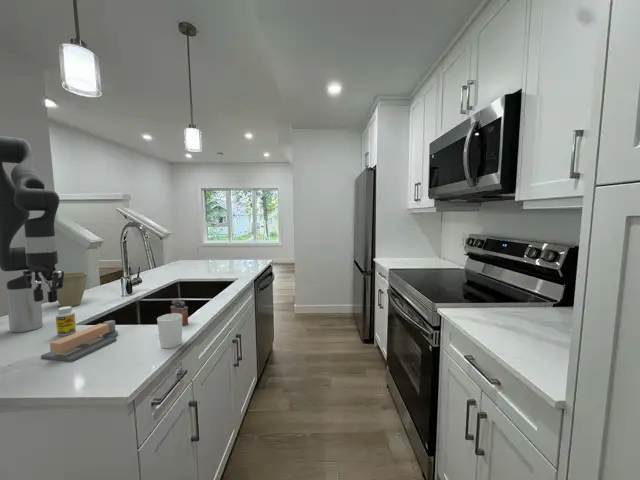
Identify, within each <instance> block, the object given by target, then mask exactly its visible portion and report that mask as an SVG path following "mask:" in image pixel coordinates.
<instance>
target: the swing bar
mask: <svg viewBox="0 0 640 480" xmlns="http://www.w3.org/2000/svg"><path fill="white" fill-rule="evenodd" d="M115 330H116V320H113V319H112V320H106V321H103V322H102V323H98V324H95V325H93V326H92V325H91V326H89V327H87V328H85V329H83V330H80V331H77V332H74V333H72V334H69V335H65V336H64V337H61V338H58V339H56V340H54V341H51V342H49V348H50V351H51V352H55V353H62V352H65V351H67V350H69V349H71V348H74V347H76V346H78V345H81V344H83V343H85V342H88V341H90V340H92V339H95V338H97V337H99V336H100V337H102V335H104V334H111V333H114V332H115Z"/></svg>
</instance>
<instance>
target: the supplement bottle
mask: <svg viewBox="0 0 640 480" xmlns="http://www.w3.org/2000/svg"><path fill="white" fill-rule="evenodd" d="M72 307H73V306H72ZM72 307H71V306H67V307H61V306H60V307H59V308H58V309H57V313H56V314H55V324H56V325H55V326H56V335H57V336H59V337H60V336H61V337H62V336H64V337H65V336H69V335H71V334H74V333H76V330H77V329H76V326H77V325H76V315H75V311H74V310H72Z"/></svg>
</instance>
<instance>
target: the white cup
mask: <svg viewBox="0 0 640 480" xmlns="http://www.w3.org/2000/svg"><path fill="white" fill-rule="evenodd" d="M156 321H157V330H158V337H159V338H158V339H159V343H160V344H159V345H160V348H161V349H173V348H176V347H178V346H180V345H181V344H182V343H183V341H182V340H183V338H182V335H183V326H182V314H178V313H173V314H171V313H166V314H163V315H161V316H158V317H157V318H156Z"/></svg>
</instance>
